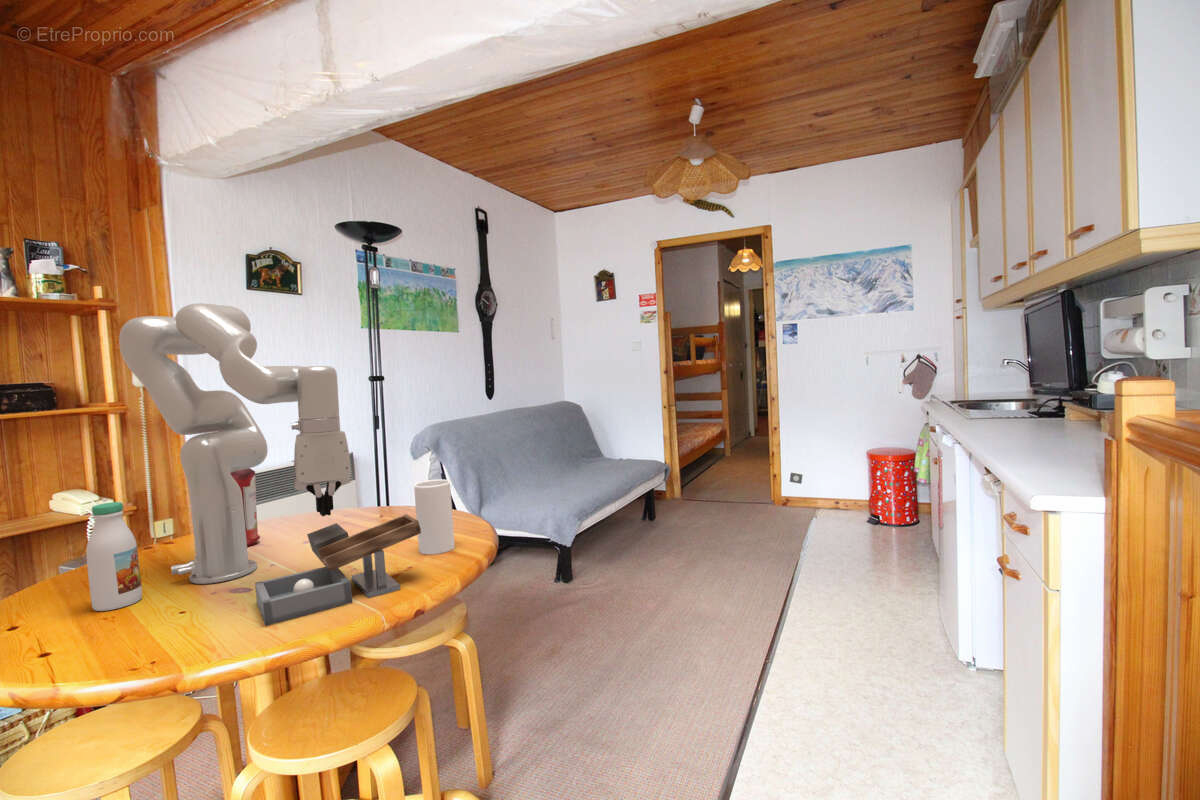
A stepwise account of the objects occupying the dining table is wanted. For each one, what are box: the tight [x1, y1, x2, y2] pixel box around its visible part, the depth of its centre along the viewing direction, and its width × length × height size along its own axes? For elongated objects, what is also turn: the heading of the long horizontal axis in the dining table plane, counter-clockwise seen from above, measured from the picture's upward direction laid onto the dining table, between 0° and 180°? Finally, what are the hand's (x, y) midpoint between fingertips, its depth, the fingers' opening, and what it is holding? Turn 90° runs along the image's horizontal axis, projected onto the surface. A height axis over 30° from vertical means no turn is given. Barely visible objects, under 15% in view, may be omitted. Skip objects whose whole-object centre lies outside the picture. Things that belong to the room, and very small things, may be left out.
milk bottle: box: [85, 501, 143, 612], centre depth 115 cm, size 8×8×20 cm
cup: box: [413, 479, 456, 555], centre depth 139 cm, size 8×8×16 cm
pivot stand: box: [351, 549, 401, 599], centre depth 118 cm, size 6×13×8 cm, turn 36°
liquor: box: [230, 468, 261, 547], centre depth 152 cm, size 7×7×28 cm
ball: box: [293, 579, 314, 593], centre depth 110 cm, size 4×4×4 cm
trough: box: [306, 514, 421, 571], centre depth 121 cm, size 18×18×4 cm
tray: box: [254, 566, 353, 627], centre depth 110 cm, size 14×13×4 cm
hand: (325, 514), depth 121 cm, fingers closed
